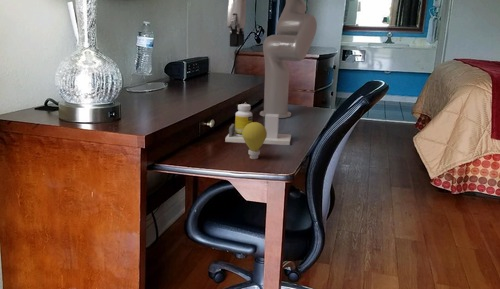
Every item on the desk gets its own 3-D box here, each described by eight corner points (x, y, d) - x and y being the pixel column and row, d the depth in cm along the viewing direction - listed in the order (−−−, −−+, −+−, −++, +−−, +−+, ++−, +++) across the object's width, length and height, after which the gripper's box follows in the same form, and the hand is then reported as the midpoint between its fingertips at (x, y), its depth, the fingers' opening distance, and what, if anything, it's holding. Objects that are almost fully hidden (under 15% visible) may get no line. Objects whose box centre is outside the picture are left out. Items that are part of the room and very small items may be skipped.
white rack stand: (230, 135, 154) (230, 110, 152) (290, 138, 152) (292, 113, 149) (225, 141, 145) (225, 115, 143) (289, 145, 143) (290, 119, 141)
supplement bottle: (250, 137, 146) (250, 107, 143) (233, 136, 147) (233, 106, 145) (253, 133, 151) (254, 104, 149) (237, 132, 152) (237, 103, 150)
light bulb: (241, 154, 132) (241, 119, 130) (264, 154, 133) (265, 119, 130) (242, 161, 126) (243, 125, 123) (267, 161, 126) (268, 125, 124)
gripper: (231, -6, 162) (230, 44, 167) (221, -9, 146) (221, 47, 150) (252, -6, 161) (251, 45, 166) (245, -9, 145) (244, 47, 149)
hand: (237, 45), depth 158 cm, fingers open, 9 cm apart
